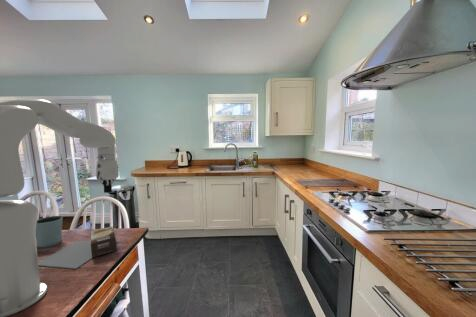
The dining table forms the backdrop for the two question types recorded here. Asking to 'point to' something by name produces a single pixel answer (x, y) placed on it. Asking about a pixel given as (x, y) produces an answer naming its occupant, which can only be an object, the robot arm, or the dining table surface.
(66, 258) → the mat
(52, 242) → the teal planter pot
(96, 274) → the dining table surface
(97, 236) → the coffee box
